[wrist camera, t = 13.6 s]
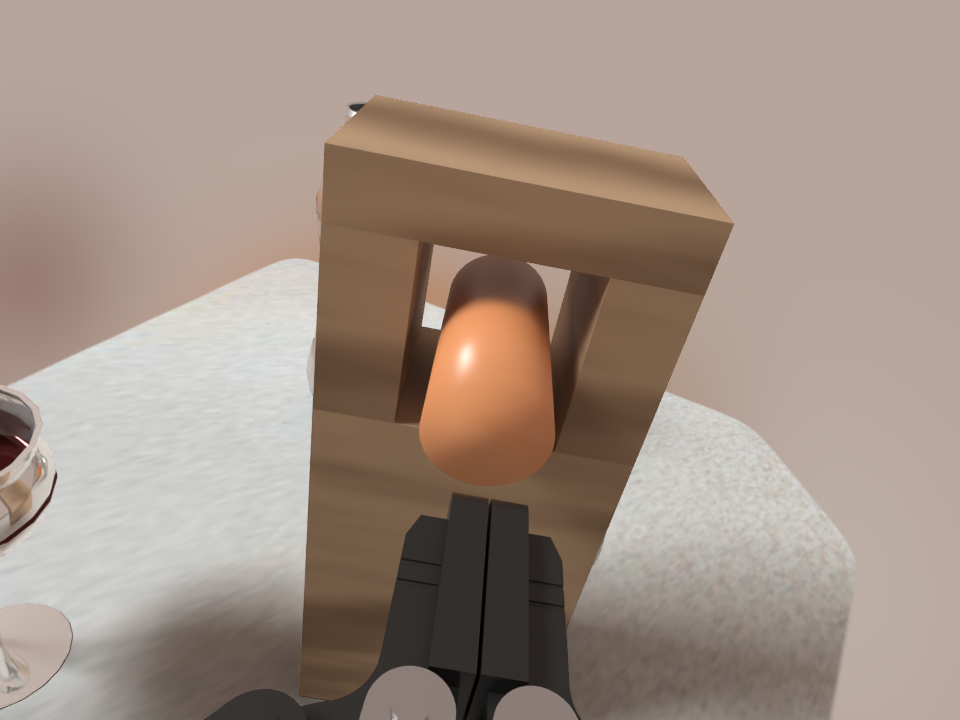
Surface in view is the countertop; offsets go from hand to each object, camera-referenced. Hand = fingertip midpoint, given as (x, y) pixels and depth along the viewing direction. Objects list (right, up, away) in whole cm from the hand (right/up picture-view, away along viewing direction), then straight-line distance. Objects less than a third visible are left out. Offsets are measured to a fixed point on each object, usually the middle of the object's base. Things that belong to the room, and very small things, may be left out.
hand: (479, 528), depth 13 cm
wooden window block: (-3, -11, +18) cm, 21 cm away
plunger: (0, +2, +6) cm, 7 cm away
